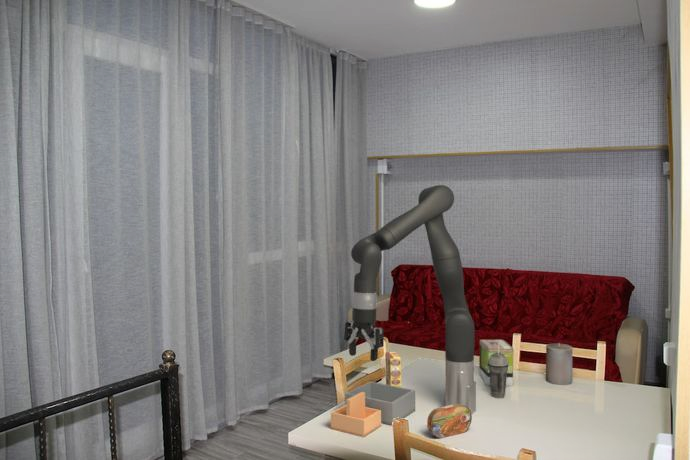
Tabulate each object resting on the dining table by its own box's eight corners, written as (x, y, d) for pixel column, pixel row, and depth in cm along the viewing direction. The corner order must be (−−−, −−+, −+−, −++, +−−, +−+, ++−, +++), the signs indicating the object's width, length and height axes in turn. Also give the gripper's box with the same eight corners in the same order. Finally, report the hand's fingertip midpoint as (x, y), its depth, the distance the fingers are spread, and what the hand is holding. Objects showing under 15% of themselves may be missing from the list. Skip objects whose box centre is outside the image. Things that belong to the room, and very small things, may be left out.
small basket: (381, 426, 176) (381, 395, 175) (364, 437, 167) (363, 404, 167) (348, 418, 182) (348, 388, 182) (330, 428, 174) (330, 397, 174)
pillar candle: (543, 377, 226) (543, 339, 225) (569, 377, 224) (569, 340, 224) (548, 384, 216) (548, 345, 215) (575, 385, 215) (575, 346, 214)
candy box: (402, 401, 199) (402, 357, 198) (390, 401, 198) (390, 358, 198) (396, 393, 207) (396, 351, 207) (385, 393, 207) (384, 351, 206)
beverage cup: (486, 398, 201) (486, 342, 200) (489, 392, 208) (489, 337, 207) (507, 400, 198) (507, 343, 198) (509, 394, 205) (509, 339, 204)
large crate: (415, 410, 189) (415, 390, 189) (392, 425, 176) (392, 403, 176) (370, 401, 199) (369, 381, 198) (345, 414, 186) (345, 393, 185)
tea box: (514, 386, 214) (514, 347, 214) (487, 386, 214) (487, 347, 214) (503, 374, 229) (503, 338, 229) (478, 375, 229) (478, 338, 229)
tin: (431, 440, 165) (431, 412, 164) (425, 437, 167) (425, 408, 167) (472, 431, 172) (472, 403, 171) (465, 427, 174) (465, 400, 174)
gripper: (390, 308, 175) (388, 360, 175) (355, 302, 184) (354, 351, 185) (374, 310, 169) (372, 364, 170) (339, 304, 179) (338, 355, 179)
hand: (362, 357), depth 177 cm, fingers open, 8 cm apart
